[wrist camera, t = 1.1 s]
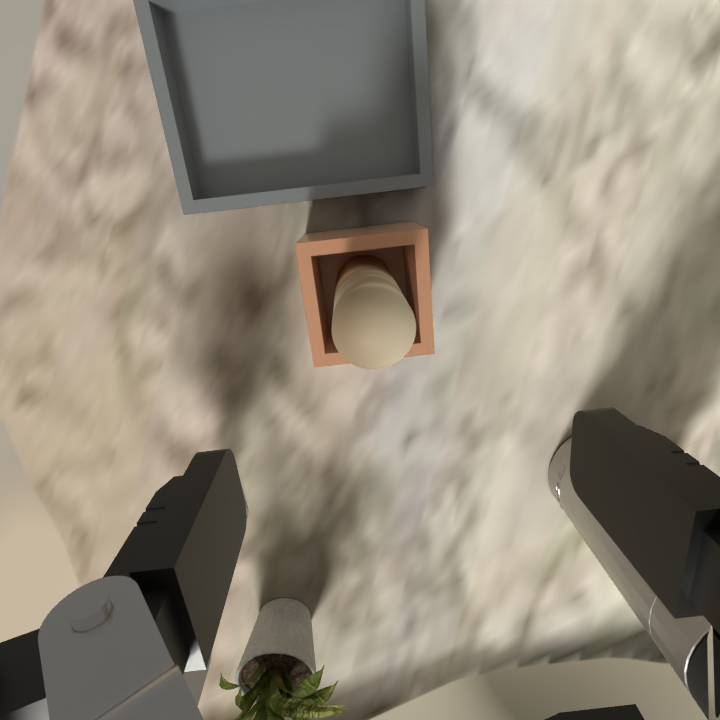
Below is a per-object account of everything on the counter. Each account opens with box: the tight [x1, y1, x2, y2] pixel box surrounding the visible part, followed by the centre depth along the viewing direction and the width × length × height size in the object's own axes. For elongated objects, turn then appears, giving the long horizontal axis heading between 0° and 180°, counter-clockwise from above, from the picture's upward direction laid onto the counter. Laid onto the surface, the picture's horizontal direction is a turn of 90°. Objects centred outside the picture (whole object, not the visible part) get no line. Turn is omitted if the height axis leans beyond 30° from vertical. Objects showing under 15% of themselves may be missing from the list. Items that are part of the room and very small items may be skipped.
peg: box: [331, 255, 416, 369], centre depth 27 cm, size 4×4×12 cm
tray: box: [133, 0, 434, 215], centre depth 28 cm, size 16×12×3 cm
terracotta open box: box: [295, 221, 435, 367], centre depth 30 cm, size 8×8×7 cm
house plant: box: [219, 598, 347, 720], centre depth 38 cm, size 14×14×16 cm
